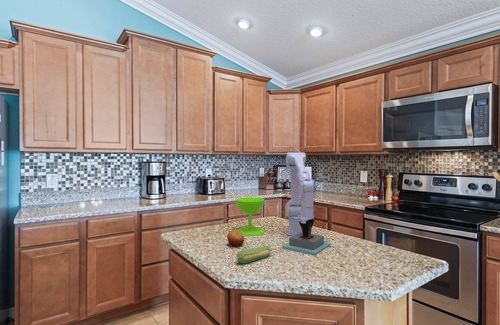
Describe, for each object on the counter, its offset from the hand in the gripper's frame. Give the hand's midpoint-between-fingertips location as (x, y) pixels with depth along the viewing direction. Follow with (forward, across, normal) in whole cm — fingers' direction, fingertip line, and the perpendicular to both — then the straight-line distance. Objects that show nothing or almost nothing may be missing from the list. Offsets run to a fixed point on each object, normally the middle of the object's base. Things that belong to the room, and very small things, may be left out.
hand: (306, 235), depth 133 cm
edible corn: (+6, +25, -15) cm, 29 cm away
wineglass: (+5, -13, -35) cm, 38 cm away
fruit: (+5, +12, -31) cm, 34 cm away
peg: (+2, 0, 0) cm, 3 cm away
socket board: (+5, 0, 0) cm, 5 cm away
